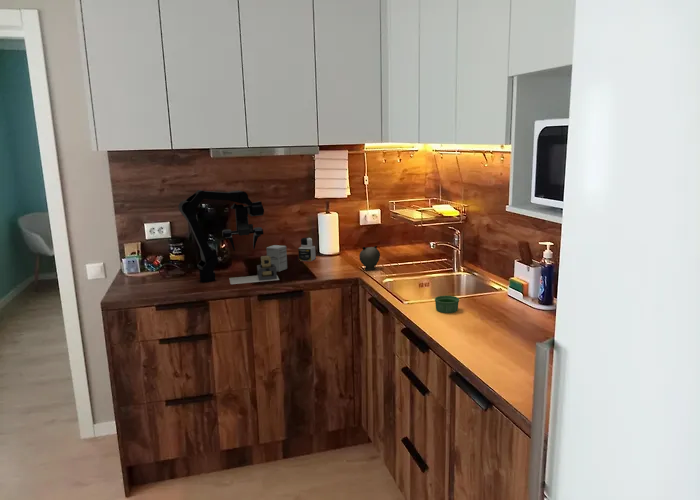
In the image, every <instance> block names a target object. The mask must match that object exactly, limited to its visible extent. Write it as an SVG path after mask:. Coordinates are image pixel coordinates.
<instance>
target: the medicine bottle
mask: <svg viewBox="0 0 700 500" xmlns="http://www.w3.org/2000/svg"><path fill="white" fill-rule="evenodd" d="M315 259H316V246H315V245H313V239H312V238H311V237H303V238H301V239H300V246H299V247H298V261H299V260H300V261H299V262H313V261H314V260H315Z"/></svg>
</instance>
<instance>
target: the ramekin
mask: <svg viewBox="0 0 700 500" xmlns="http://www.w3.org/2000/svg"><path fill="white" fill-rule="evenodd" d="M434 302H435V303H434V304H435V310H436V311H437V312H438V313H440V314H441V313H442V314H453V313H457V312H458V310H459V302H460V298H459V297H457V296H454V295H439V296H435V298H434Z"/></svg>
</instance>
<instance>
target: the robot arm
mask: <svg viewBox="0 0 700 500" xmlns="http://www.w3.org/2000/svg"><path fill="white" fill-rule="evenodd" d="M203 200H212V201H213V200H214V201H215V200H216V201H219V200H220V201H229V202H232V203H233V202H234V203H233V204H232V205H231V206H230V209H232V210H233V209H234V214H235V226H236V227H235V228H236V230H232V229H223V230H222V231H221V232H222V233H221V234H222V238H225V239H226V240H228V241H229V242H230V245H231V247H232V249H233V252H235V251H236V250H235V244H234V239H233V236H234V235H236V236H237V235H238V236H240V237H241V236H249V235H250V234H253V238H252V239H253V240H252V249H253V250H255V248H256V244H257V242H258V241H257V240H258V239H259V237H261V235H264V229H263V228H262V227H259V226H257V227H254V224H253V223H249V216H250V217H251V218H252V217H259V216H261V217H262V216H264V213H265V208H264V206H263V204H262V201H260V200H258V201H254V202H253V201H251V199H250V198H249V195H248V193H247V192H246V191H244V190H240V189H239V190H238V189H237V190H231V191H212V190H211V191H210V190H202V189H198V190H196V191H195V192H194V193H193V194H192V195H190V196H189V197H187V198H186V199H185V200H182V201H180V202H179V203H178V206H177V207H178V211H179V212H180V213H181V215H182V216H183V217H184V218H185V220H186V221H187V223H188V225H189V227H190V229H191V232H192V234H193V237H194V239H195V241H196V244H197V245H198V248H199V253H200V254H199V255H200V259H201V260H199V262H198V263H197V264H196V265H197V268H198V270H199V271H198V272H199V282H200V283H210V282H211V283H212V282H215V281H216V271H215V268H216V266H217V265H218V263H219V256H218V254H217V250H216V249H215V248H213V247H210V245H209V243H208V241H207V239H206V236H205V234H204V232H203V230H202V228H201V225H200V223H199V221H198V215H197V210H196V208H197V207H198V206H199V205H200V204H201V203H202V202H203ZM236 203H237V204H236Z"/></svg>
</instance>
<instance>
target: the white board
mask: <svg viewBox="0 0 700 500" xmlns="http://www.w3.org/2000/svg"><path fill="white" fill-rule="evenodd" d="M228 279H229V283H230V285H236V284H237V285H241V284H251V283H259V282H260V283H261V282H271V281H272V282H273V281H280V278H279V276H278V275H277V279H271V280H260V281H259V279H258V275H257V274H256V275H249V276H247V275H246V276H238V277H229V278H228Z"/></svg>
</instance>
